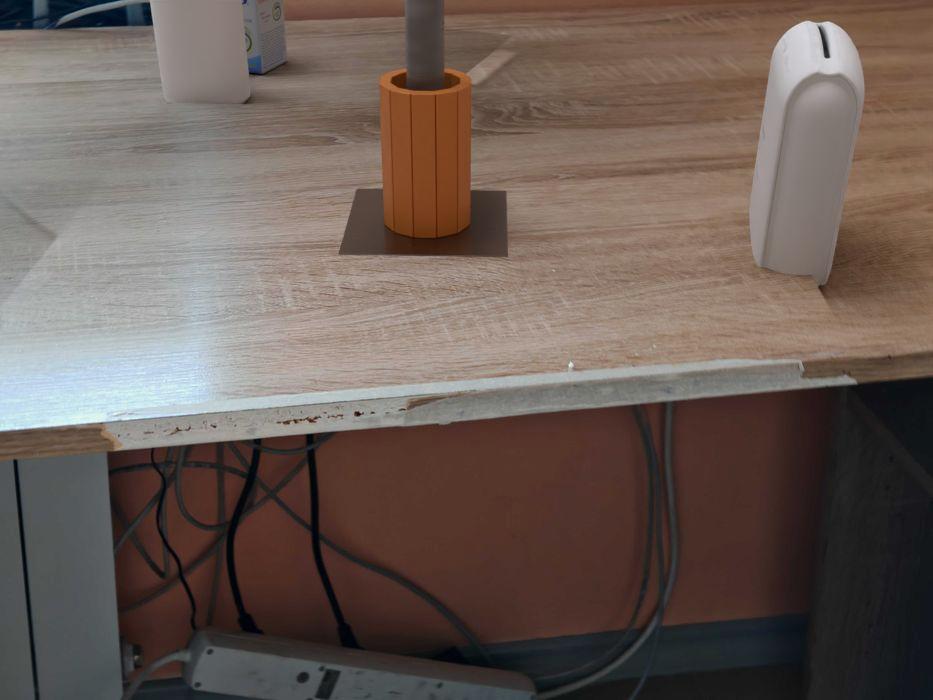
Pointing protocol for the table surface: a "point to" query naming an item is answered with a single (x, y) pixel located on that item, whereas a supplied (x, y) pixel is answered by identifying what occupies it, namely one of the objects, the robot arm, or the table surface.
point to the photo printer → (805, 150)
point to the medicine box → (264, 34)
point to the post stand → (367, 208)
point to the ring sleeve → (426, 155)
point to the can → (201, 51)
